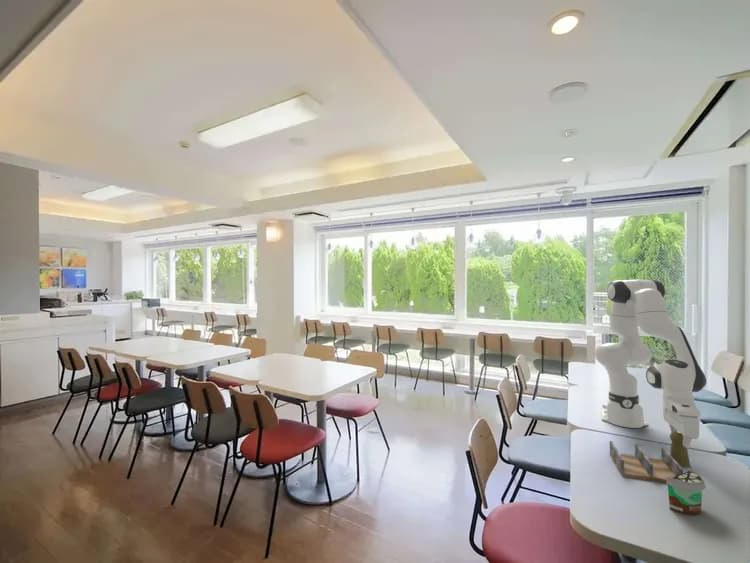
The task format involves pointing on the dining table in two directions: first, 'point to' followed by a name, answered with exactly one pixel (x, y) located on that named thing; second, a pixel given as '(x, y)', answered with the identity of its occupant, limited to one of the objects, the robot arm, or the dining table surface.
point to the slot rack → (645, 465)
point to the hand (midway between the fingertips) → (680, 441)
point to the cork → (679, 450)
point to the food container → (686, 492)
